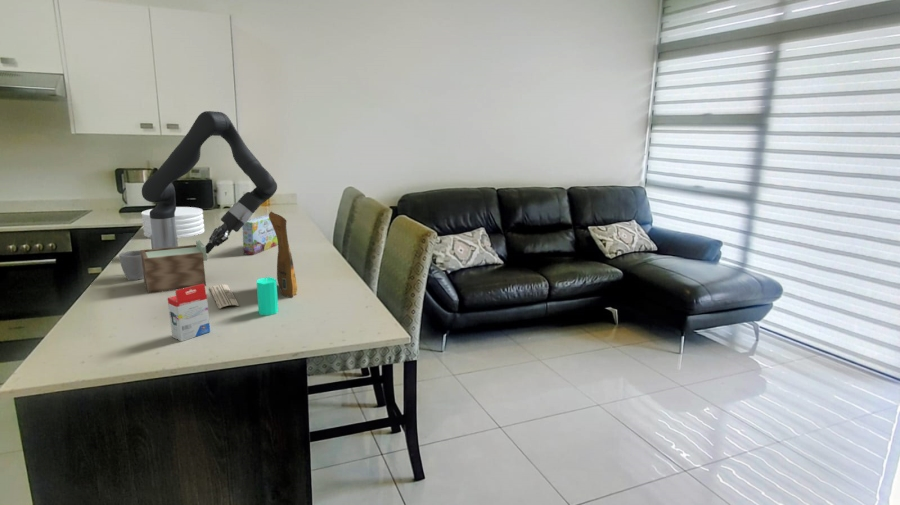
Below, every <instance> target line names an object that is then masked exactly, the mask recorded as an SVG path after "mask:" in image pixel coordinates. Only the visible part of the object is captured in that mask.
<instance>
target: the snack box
mask: <svg viewBox="0 0 900 505" xmlns="http://www.w3.org/2000/svg"><path fill="white" fill-rule="evenodd" d="M241 228H242V245H243V247H242V248H243V254H244V255H251V256H254V255H256V254H258V253H259V254H260V253H261V252H264V251H267V250H268V249H269V250H270V249H272V248H274V247H278V241H277V236H276V233H275V231H274V228H273V225H272V223H271V221H270V219H269V214H265V215H261V216H258V217H254V218H252V219H251V218H249V220H248V221H247V222H246V223H245V224H244V225H243V226H242V227H241Z"/></svg>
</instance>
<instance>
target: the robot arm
mask: <svg viewBox="0 0 900 505" xmlns="http://www.w3.org/2000/svg"><path fill="white" fill-rule="evenodd" d="M210 137H221V138H222V139H223V140H225V142H227V144H228V145H229V147H230V149H231V153H232V158H233V159H234V161H235V163H236V165H237V166H238V167H239V168H240V169H241V171H243V173H244V174H245V175H246V176H247V177H249V179H250V180H251V182H252V183H253V184H254V186H255V188H254V189H253V190H251V191H247V192H245V193H244V194H243V195H242V196H241V197H240V198H239V199H238V200H237V202H236V203H234V204H233V205H232V206H231V207H230V208H229V209H228V210H227V211H226V212H225V213H224V214H223V215H222V217H221V218H220V221H221V222H223V223H222V224H221V225H220V226H218V227H215V228H214V230H213V231H212V233H211V235H210V237H209V238H208V239H209V240H208V243H207V244H205V245H204V246H205V247H206V255H207V254H209V253H210V252H211V251H212V250H214V248H216V247H219V246H220V245H222V244H223V243H225V242H226V241H228V240H229V236H231V232H232V231H234V232H235V233H237V232H239V231H240V230H241V229H242V228H243V227H242V226H243V225H244V224H245V223H246V222H247V221H248V220H250V219H251V217H252V215H253V214H254V213H256V211H257V210H258V209H259V207H260V206H261V205H263V204H264V203H266V202H267V201H268V200H270V199H271V197H273V195H274V194H275V193H276V192H277V190H278V183H277V182H276V180H275V178H274V177H273V176H272V175H271V173H270V172H269V171H267V169H266V168H265V167H264V166H263V165H262V164H261V162H260V161H259V160H258V158H257V157H256V156H255V155H254V154H253V152H252V151H251V150H250V149H249V148H248V147H247V146H248V145H246V144H245V142H244V140H243V138H242V137H241V136H240V133H239V132H238V131H237V128H236V127H235V125H234V123H233V121H231V119H230V118H229V116H228V115H227V114H225V113H224V112H221V111H214V110H213V111H212V110H208V111H207V110H205V111H203V112H201V113H200V114H199V115H198V116H197V117H196V119H195V121H194V122H193V124H192V126H191V127H190V128H189V130H188V131H187V133H186V135H185V136H184V137H183V139H181V141H180V143H179V144H178V145H177V146H176V147H175V148H174V149H173V151H172V152H171V153H170V155H169V156H168V157H167V158H166V160H165V161H164V162H163V163H162V165H161V166H160V167H159V168H158V169H157V170H156V172H154V173H153V174H152V175H151V176H150V177H149V178H148V179H147V180H145V182H144V183H143V185H142V187H141V196H142V197H143V199H144V200H145V201H146V202H149V203H157V204H156V205H155V207H154V208H151V209H152V210H151V211H150V221H151V230H152V235H150V237H149V238H150V245H151V249H157V248H168V247H178V246H179V244H178V242H179V241H178V238H177V232H176V223H175V210H176V207H177V204H176V203H177V200H176V190H175V189H176V188H175V186H174V184H173V183H174V182H175V181H176V180H178V179H180V178H182V177H184V176H185V175H186V174H188V173H190V171H192V170H193V168H194V167H195V166H196V164H198V162H199V161H200V158H201V148H202V146H203V144H204V143H205V142H206V141H207V140H208V139H209V138H210Z"/></svg>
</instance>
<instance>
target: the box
mask: <svg viewBox="0 0 900 505" xmlns="http://www.w3.org/2000/svg"><path fill="white" fill-rule="evenodd" d="M190 247H197V246H196V244H190V245H181V246H179V245H178V247H168V248H157V249H152V248H149V249H140V251H141V259H142V267H143V275H144V278H143V281H144V286H145V285H146V286H145V288H146V291H147V293H148V294H155V293H163V292H169V290H170V291H176V289H177V290H179V289H183V288H187V287H191V286H196V285H200V284H205V286H207V284H206V283H207V282H206V274H205V271H206V270H205V265H204V264H205V261H204V260H203V252H199V253H190V254H180V255H171V256H161V257H152V258H148V257H147V255H146V252H150V251H160V250H170V249H180V248H190ZM162 291H163V292H162Z"/></svg>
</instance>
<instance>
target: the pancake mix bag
mask: <svg viewBox="0 0 900 505" xmlns="http://www.w3.org/2000/svg"><path fill="white" fill-rule="evenodd" d="M268 215H269V219H270V221H271V223H272V225H273V228H274V231H275V233H276V236H277V241H278V245H277V251H278V252H277V259H276V260H277V263H276V281H277V284H278V285H277V286H278V288H279V290H280V292H281V294H282V295H283V296H284V297H288V298H294V296H297V293H298V292H297V291H298V284H297V278H296V272H295V268H294V267H295V266H294V261H293V255H292V252H291V247H290V244H289V239H288V231H287V230H288V229H287V221H288V220H287V219H286V218H284V217H283V216H281V215H280V214H277V213H275V212H273V211H272V210H271V211H270V212H269V213H268Z"/></svg>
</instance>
